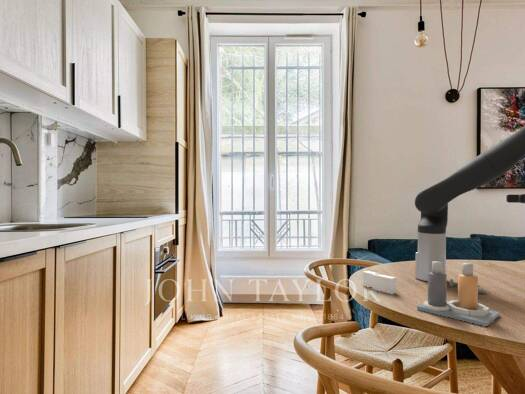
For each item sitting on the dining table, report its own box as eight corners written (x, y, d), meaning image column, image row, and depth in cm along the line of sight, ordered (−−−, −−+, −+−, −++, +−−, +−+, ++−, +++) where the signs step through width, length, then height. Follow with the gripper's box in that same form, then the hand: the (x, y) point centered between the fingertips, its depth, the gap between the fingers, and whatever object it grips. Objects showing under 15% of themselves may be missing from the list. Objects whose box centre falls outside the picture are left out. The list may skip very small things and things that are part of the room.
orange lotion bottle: (455, 309, 87) (455, 263, 87) (461, 306, 90) (461, 261, 90) (474, 314, 84) (474, 266, 84) (480, 310, 87) (480, 263, 87)
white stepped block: (405, 297, 103) (405, 278, 103) (368, 297, 103) (368, 278, 103) (387, 284, 118) (387, 268, 118) (355, 284, 118) (355, 268, 118)
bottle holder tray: (416, 310, 90) (416, 261, 90) (433, 301, 97) (433, 256, 97) (486, 327, 78) (486, 271, 78) (499, 316, 85) (499, 264, 85)
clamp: (487, 291, 101) (449, 287, 106) (487, 298, 101) (449, 294, 106) (482, 280, 115) (449, 277, 120) (482, 287, 115) (449, 283, 120)
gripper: (573, 185, 91) (503, 185, 96) (608, 183, 77) (524, 183, 83) (573, 212, 91) (502, 211, 96) (608, 215, 77) (523, 214, 83)
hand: (512, 198), depth 89 cm, fingers open, 8 cm apart
